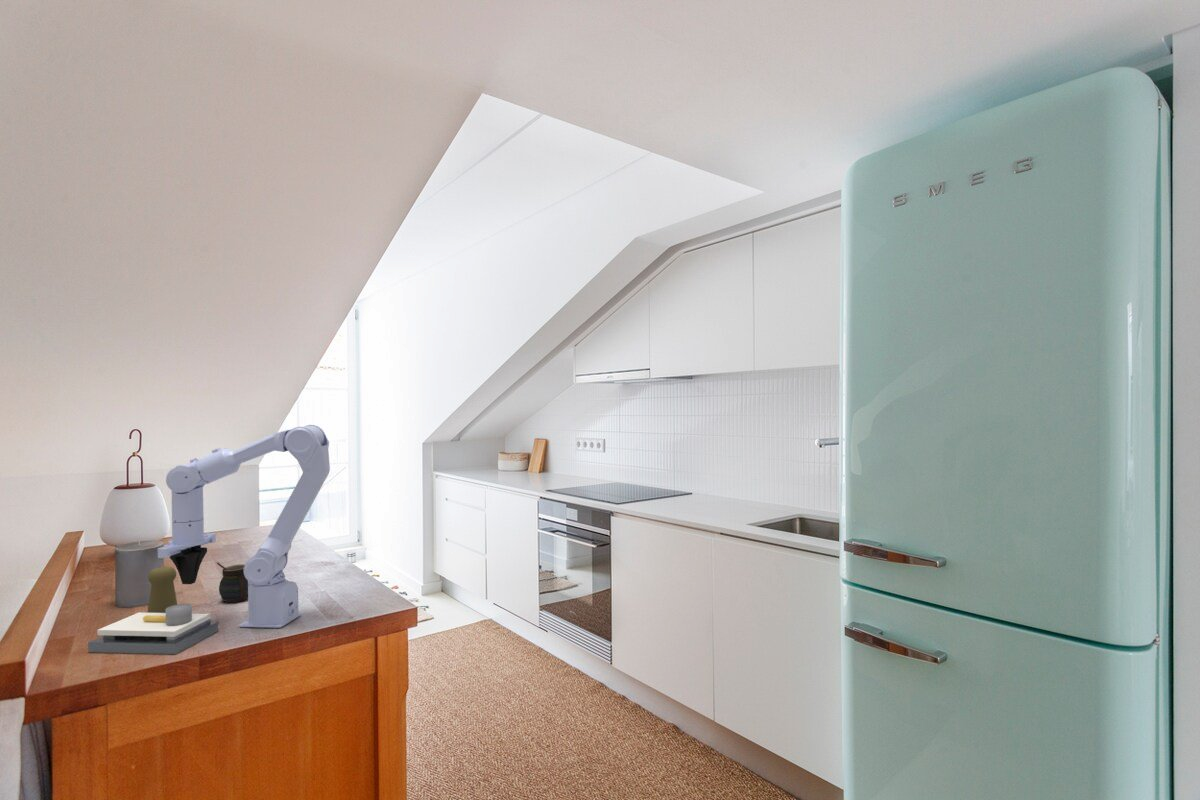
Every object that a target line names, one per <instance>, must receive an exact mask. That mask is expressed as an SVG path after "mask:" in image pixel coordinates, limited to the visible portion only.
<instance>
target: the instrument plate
mask: <svg viewBox="0 0 1200 800" xmlns="http://www.w3.org/2000/svg"><path fill="white" fill-rule="evenodd" d="M208 619H210V620H211V613H193V605H192V604H191V603H179V604H178V603H177V605H173V606H170V607H168V608H166V613H147V612H136V613H135V614H133V615H130V616H128V617H127V616H126V617H125V618H122V619H119V620H118V621H116V622H113V623H110V624H108V625H106V626H103V627H101V628H98V629H97V631H96V633H97V634H96V635H97V636H103V635H113V636H162V637H175V636H177V635H179V634H181V633H183V632H185V631H187V630H189V629H191V628H193V627H195V626H197V625H199V624H201V623H203V622H205V621H207V620H208Z"/></svg>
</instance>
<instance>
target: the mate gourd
mask: <svg viewBox="0 0 1200 800" xmlns="http://www.w3.org/2000/svg"><path fill="white" fill-rule="evenodd" d="M216 564H217V565H218V566H219V567H220V568H222V570H221V571H222V578H221V579H220V582H219V587H218V592H219V595H220V598H221V600H223V601H224V602H226V603H237V602H243V601H245V600H246V599H247V600H248V580H247V579H246V578H245V576H244V566H245V564H246V563H244V564H243V563H241V564H240V563H239V564H233V565H228V566H224V565H222V564H221V563H220V562H216Z"/></svg>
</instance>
